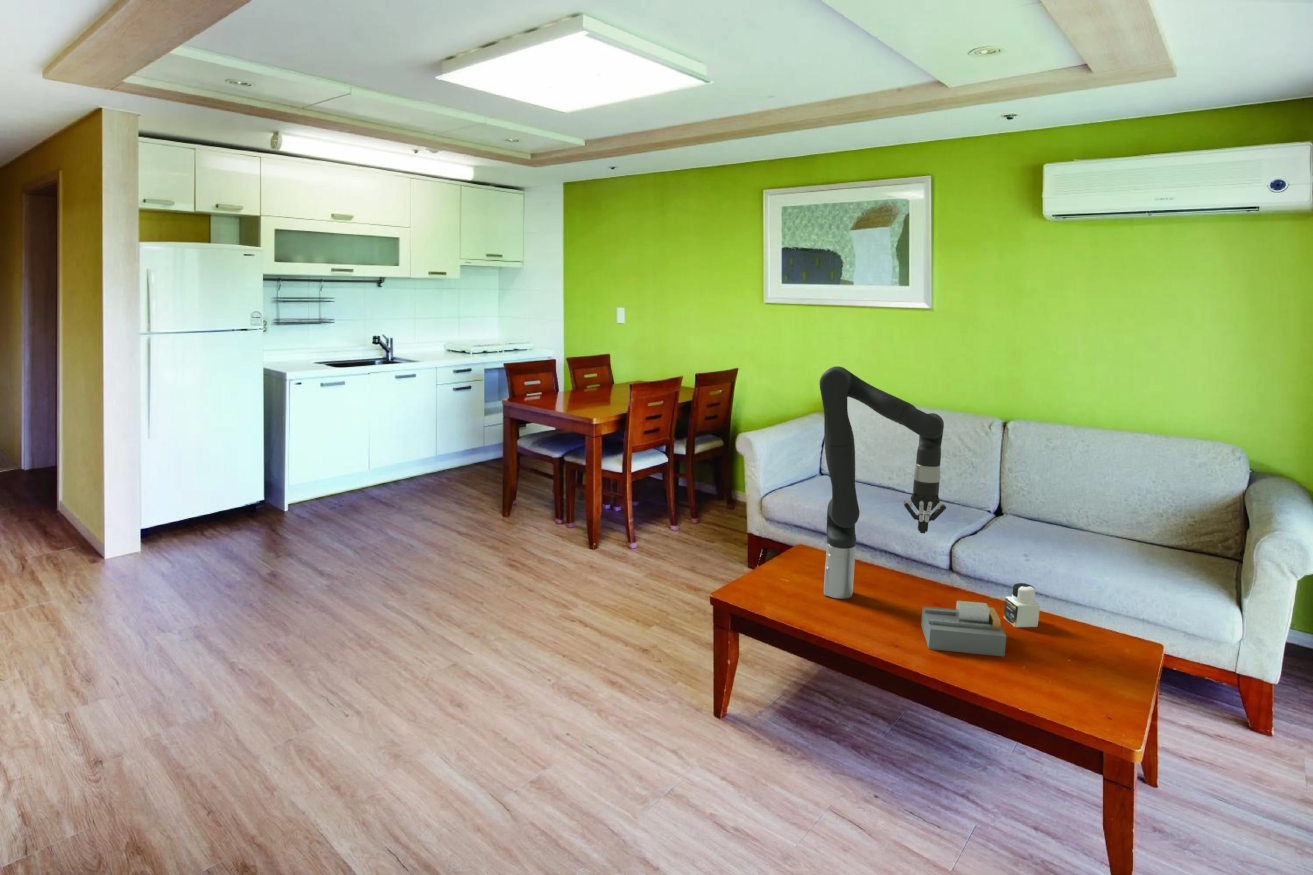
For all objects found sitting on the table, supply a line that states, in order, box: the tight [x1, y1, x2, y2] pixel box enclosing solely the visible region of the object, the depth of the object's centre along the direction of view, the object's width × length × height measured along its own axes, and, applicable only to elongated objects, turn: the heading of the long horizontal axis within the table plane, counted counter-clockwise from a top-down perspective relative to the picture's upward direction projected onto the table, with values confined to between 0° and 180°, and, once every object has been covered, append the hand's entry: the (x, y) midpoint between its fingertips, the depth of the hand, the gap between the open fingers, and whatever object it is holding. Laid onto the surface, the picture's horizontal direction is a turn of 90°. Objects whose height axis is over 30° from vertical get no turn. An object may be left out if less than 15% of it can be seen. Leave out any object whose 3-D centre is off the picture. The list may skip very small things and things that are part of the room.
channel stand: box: [920, 606, 1007, 657], centre depth 222 cm, size 20×16×9 cm
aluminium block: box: [955, 600, 990, 624], centre depth 221 cm, size 8×5×5 cm, turn 79°
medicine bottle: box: [1003, 582, 1041, 628], centre depth 234 cm, size 7×7×12 cm
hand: (922, 532), depth 240 cm, fingers closed
